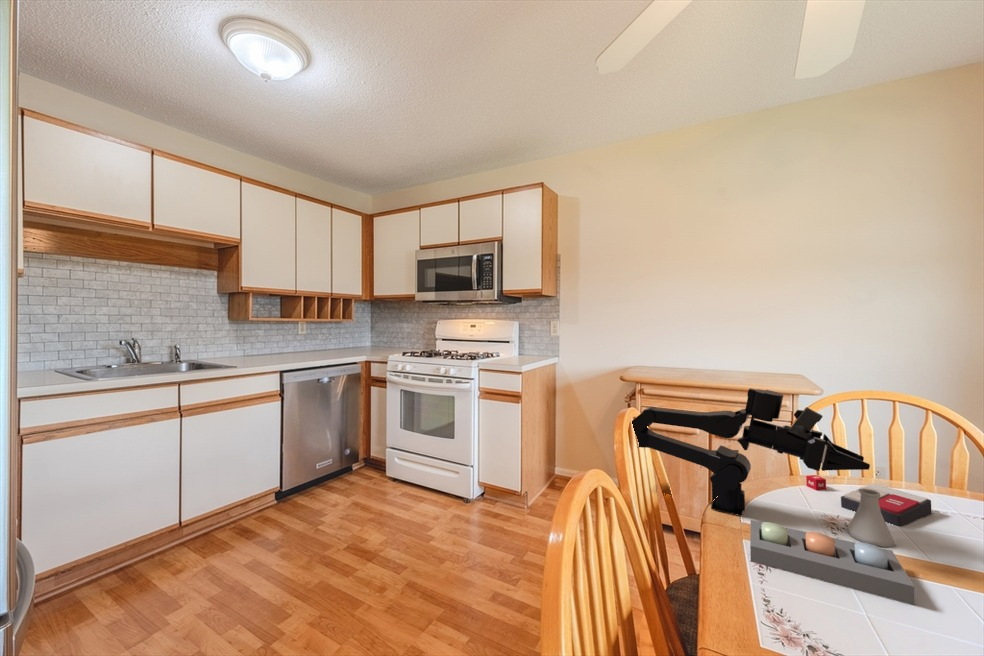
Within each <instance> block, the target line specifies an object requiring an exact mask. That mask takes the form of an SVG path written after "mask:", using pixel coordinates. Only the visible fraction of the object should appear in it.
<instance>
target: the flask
mask: <svg viewBox="0 0 984 656" xmlns="http://www.w3.org/2000/svg"><path fill="white" fill-rule="evenodd" d="M858 489H859V488H858ZM859 492H860V493H861V499H860V504H859V507H858V509H857V511H856V512H854V516H853V518H852V519H851V521H850V522H849V524H848V526H847V528H846V531H847V533H848V535H849V536H850V537H852V538H854V539H856V540H858V541H860V542H862V543H868V544H872V545H875V546H878V547H882V546H883V548H884V547H886V546H887V547H896V546H897V544H896V542H895V540H894V538H893V535H892V534H891V531H890V530H889V528H888V525H887V523H886V522H885V521H884V518H883V516H882V514H881V511H880V507H879V497H880V496H881V495H880V493H879V492H877V491H874V490H870V489H859Z"/></svg>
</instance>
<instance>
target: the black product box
mask: <svg viewBox="0 0 984 656" xmlns="http://www.w3.org/2000/svg"><path fill="white" fill-rule="evenodd" d="M859 489H870V490H874V491H877V492H879V493H880V495H881V496H880V497H879V507H880V511H881V514H882V516H883V518H884V521H885V523H886V522H887V523H886V524H889V523H890V525H892V524H893V526H895V527H898V528H902V527H904V526H907V525H910V524H912V523H914V522H915V521H918V520H920V519H921V518H926V517H929V516H931V515H932V511H933V510H932V500H931V499H928V498H927V497H924V496H921V495H917V494H912V493H910V492H906V491H902V490H899V489H895V488H891V487H888V486H884V485H881V484H877V483H870V484H868V485H866V486H863V487H860V488H857V489H855V490H852V491H850V492H847V493H845V494H844V495H841V496H840V506H841V508H843V509H846V510H848V511H851V510H852V512H854V511H855V512H854V513H856V511H857V509H858V507H859V504H860V499H861V493H860V492H859Z"/></svg>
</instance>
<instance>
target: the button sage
mask: <svg viewBox="0 0 984 656" xmlns="http://www.w3.org/2000/svg"><path fill="white" fill-rule="evenodd" d="M786 528H787V527H786ZM786 528H785V526H783V525H781V524H779V523H776V522H775V523H774V522H770V521H768V522H767V521H766V522H765V521H764V522H763V523H762V540H763V541H767V542H772V543H776V544H780V545H784V546H788V530H787V529H786Z"/></svg>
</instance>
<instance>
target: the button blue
mask: <svg viewBox="0 0 984 656" xmlns="http://www.w3.org/2000/svg"><path fill="white" fill-rule="evenodd" d="M884 549H885V548H882V547H881V546H877V545H872V544H868V543H864V542H862V541H860V542H855V563H859V564H863V565H868V566H872V567H876V568H880V569H884V570H888V563H887V552H886V551H885V550H884Z"/></svg>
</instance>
